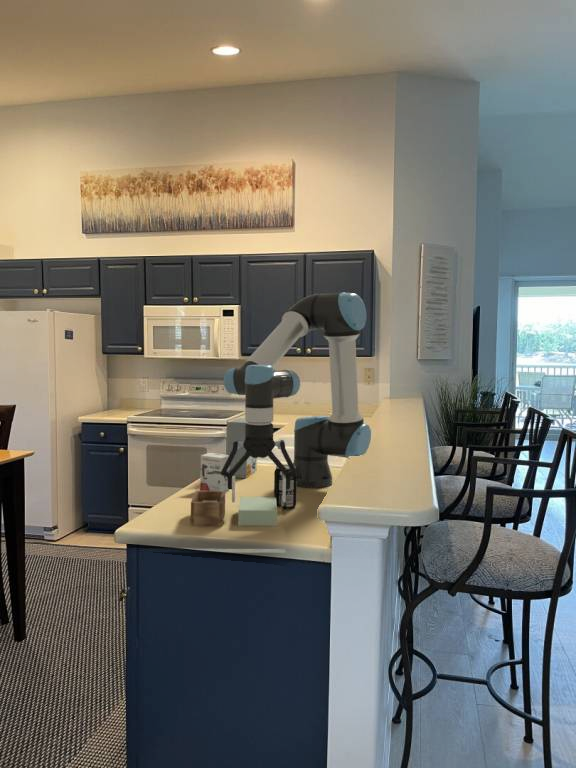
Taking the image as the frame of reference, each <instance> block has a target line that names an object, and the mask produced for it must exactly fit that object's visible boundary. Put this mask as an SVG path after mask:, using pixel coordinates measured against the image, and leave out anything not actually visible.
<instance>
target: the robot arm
mask: <svg viewBox="0 0 576 768" xmlns="http://www.w3.org/2000/svg"><path fill="white" fill-rule="evenodd" d="M367 316H368V315H367V309H366V305H365V303H364V301H363V299H362V298H361V296H359V295H358V294H357V293H353V292H336V293H335V292H333V293H330V292H329V293H313V294H310V295H307V296H305V297H303V298H302V299H300V300H299V301H297V302H296V303H294V304H293V305H291V307H290V308H289V309H288V310H287V311H286V312H285V313H284V314H283V315H282V318H281V322H280V323H279V324H278V325H276V327H275V328H274V329H273V331H271V333H270V334H269V335H268V336H267V337H266V339H264V341H262V343H261V344H260V345H259V346H258V347H257V348H256V350H254V352H252V353H251V355H250V356H249V357H248V358H247V359H246V360H245V361H244V363H243V364H242V365H241V366H240V367H239V368H238V367H234V368H230V369H228V370H227V371H226V372H225V373H224V376H223V386H224V389H225V391H226V392H228V393H229V394H232V395H233V394H234V395H238V396H244V399H245V404H244V418H245V421H246V422H247V423H246V425H245V441H244V442H241V441H237V440H234V443H233V449H232V451H231V453H230V455H229V457H228V459H227V461H226V463H225V465H224V467H223V469H222V471H221V475H222V476H226V477H227V478H228V489H229V490H231V503H236V477H235V476H233V475H234V474H235V473H236V472H237V470H238V469H239V468H240V467H241V466H242V465H243V463H244V462H245V461H246V460H247V459H248V458H249V457H250V456H251V457H253V458H257V459H258V458H261V459H265V458H266V457H268V458H269V459H270V460H271V461H272V462H273V463H274V465H275V467H276V466H277V467H278V468H279V469H280V470H281V472H282V473H283V474H284V475H285V476H283V502H286V489H290V477H291V476H294V475H296V474H297V487H299V488H323V487H329V486H331V485H332V484H333V476H332V472H331V468H330V465H329V462H328V461H329V459H328V457H329V456H330V457H331V456H332V457H339V458H346V459H349V458H348V457H349V456H360V455H363V454H364V455H365V454H366V453H367V452H368V449H369V447H370V444H371V439H372V429H371V428H370V427H371V426H370V425H369V424H367V423H364V416H363V414H362V413H360V412H359V395H358V394H359V392H358V371H357V366H358V365H357V347H356V346H357V345H356V340H357V339H358V337H359V336H360V334H361V330H363V329H364V328H365V326H366V324H367V323H366V322H367ZM315 330H319V331H320V330H323V337H324V338H325V339H326V340H327V341H328V353H329V354H328V355H329V370H330V373H329V375H330V392H331V414H330V415H329V416H328V415H314V416H305V417H299V418H297V419H296V420H295V422H294V430H293V432H294V434H293V435H294V437H293V438H294V439H293V443H294V444H293V451H294V452H293V461H292V459H291V457H290V455H289V452H288V451H287V449H286V444H285V440H284V439H281V440H279V441H275V440H274V424H273V422H274V399H279V398H280V399H281V398H289V397H292V396H295V395H296V394H297V393H298V392H299V390H300V387H301V379H300V376H299V375H298V373H297V372H295V371H293V370H289V369H283V370H275V369H274V368H275V367H276V365H277V364H278V363H279V362H280V361H281V360H282V359H283V358H284V356H285V355H286V354H287V353H288V351H289V350H290V349H291V348H292V347H293V346H294V344H295V343H297V341H298V340H299V338H302V337H304V336H306V335H307V334H308V333H309V332H311V331H315ZM241 446H244V448H245V449H246V452H245V454H244V455H243V456H242V457H241V459H240V460H239V461H238V462H237V463H236V464H235V466H234V467H233V468H232V469H231V470H230V471H227V470H228V468H229V466H230V464H231V462H232V460H233V458H234V456H235V454H236V452H237V449H240V448H241ZM275 447H276V448H277V449H278V450H280V452H281V454H282V455H283V458H284V460H285V462H286V465H288V466H289V468H290V470H291V471H288V470H287V469H286V468H285V467H284V465H285V464H283V463H282V462H281V460H280V459H279V458H278V457H277V455H275V453H274V452H273V451H272V450H273V449H274V448H275ZM364 455H363V456H364ZM294 466H295V467H296V468H295V467H294Z"/></svg>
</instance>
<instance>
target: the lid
mask: <svg viewBox="0 0 576 768" xmlns="http://www.w3.org/2000/svg"><path fill="white" fill-rule="evenodd" d="M239 497H240V498H239V503H238V513H237V516H238V517H237V525H238V527H241V526H253V527H255V526H256V527H257V526H258V527H259V526H260V527H261V526H263V527H267V526H268V527H277V526H278V506H277V503H276V497H274V496H267V497H265V496H239Z"/></svg>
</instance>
